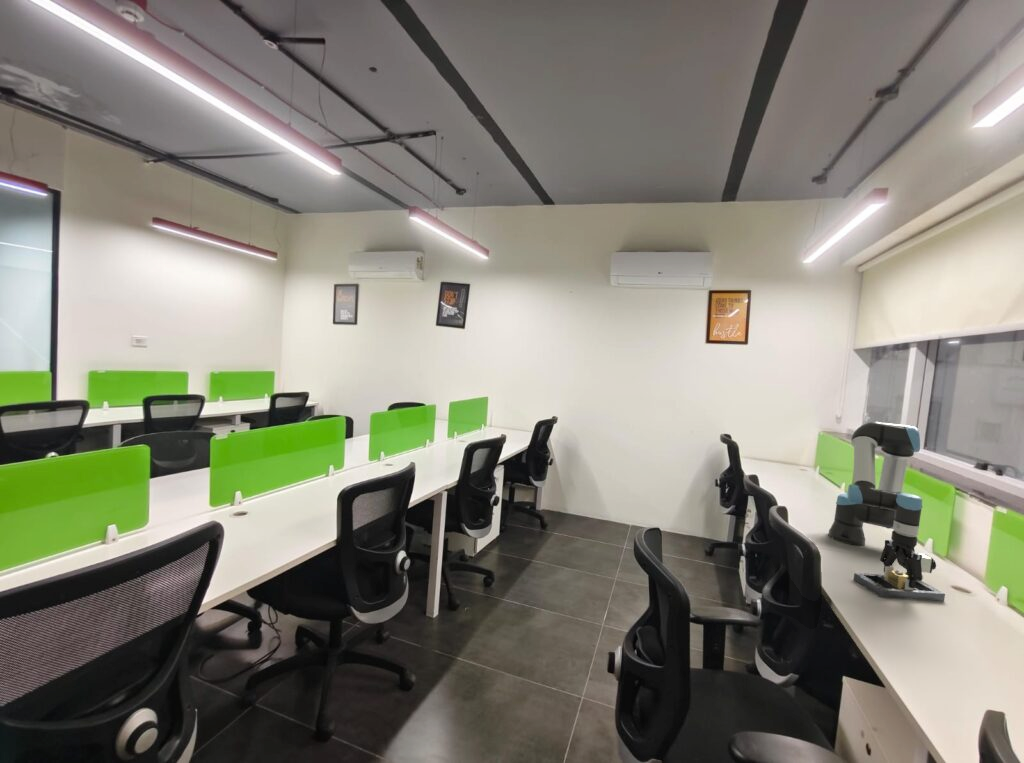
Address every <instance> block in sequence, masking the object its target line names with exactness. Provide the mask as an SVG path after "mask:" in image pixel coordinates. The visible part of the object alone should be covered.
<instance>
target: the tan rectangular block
mask: <svg viewBox="0 0 1024 763" xmlns="http://www.w3.org/2000/svg"><path fill="white" fill-rule="evenodd" d="M906 578H908V575H906V574H905V573H904V572H903V571H901V570H893V571H891V570H889V571H888V579H887V581H889V582H891V583H892V584H894V585H896V586H897V587H899V588H901V589H904V590H905V582H906Z"/></svg>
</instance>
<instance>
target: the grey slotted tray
mask: <svg viewBox="0 0 1024 763" xmlns="http://www.w3.org/2000/svg"><path fill="white" fill-rule="evenodd" d="M853 581H855V582H856V583H858V584H860V585H861V586H862V587H864V588H865V589H867V590H868V591H870V592H872V593H873V594H874V595H876V596H877V595H878V597H879V598H881V597H882V598H883V599H898V600H899V599H900V600H901V599H902V600H916V601H932V602H945V597H946V594H945V593H944V592H942V591H940V590H938V589H937V588H935V587H933V586H932V585H929V584H928V583H926V582H924V581H923V580H922V581H917V580H916V584H915V588H913V590H904V589H901V588H899V587H897V586H896V585H894V584H892V583H891V582H889V581H887V580H886V579H884V574H879V573H878V574H877V573H863V572H854V574H853Z"/></svg>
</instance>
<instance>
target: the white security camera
mask: <svg viewBox="0 0 1024 763" xmlns="http://www.w3.org/2000/svg"><path fill="white" fill-rule="evenodd" d="M915 552H916V553H917V554H921V555H922V559H921V569H922V573H925V574H926V573H928V574H932V572H933V570H936V567H937V562H936V561H935V560H934V558H932V557H931V556H929V555H928V554H926V553H919V551H915ZM908 559H909V558H908ZM896 562H897V563H898V565H899V566H901V567H902V568H904V569H905V570H906V566H905V562H904V560H903V559H902V557H901V556H900V555H899V556H898V557H897V559H896ZM904 574H906V575H908V574H907V571H905V573H904ZM912 576H913V575H912ZM922 580H924V575H923V574H922Z"/></svg>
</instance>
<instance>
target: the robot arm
mask: <svg viewBox="0 0 1024 763" xmlns="http://www.w3.org/2000/svg"><path fill="white" fill-rule="evenodd" d="M851 446H852V447H853V484H849V485H848V487H847V493H841V494H839V495H837V497H836V502H835V504H836V505H835V514H834V519H833V523H832V524H831V527H830V528H829V529H828V534H827V535H828V536H829V537H830V538H832V539H834V540H835V541H839V542H841V543H844V544H848V545H852V546H853V545H855V546H864V545H866V537H865V533H864V527H863V526H864V524H868V525H872V526H876V527H881V528H886V529H891V530H892V532H891V537H890V539H885V540H884V547H883V549H882V553H881V555H880V558H879V562H881V563H883V565H884V566H883V575H884V579H886V580H887V579H888V571H889V570H891V571H894V565H893V564H894V563H895V561H897V557H898V556H899V555H900V556H901V557H902V559H903V560H904V562H905V566H906V569H905V570H906V572H907V574H908V578H906V582H905V590H913V588H915V584H916V580H917V581H922V582H923V579H922V575H923V574H922V573H923V572H922V569H921V559H922V555H921V554H922V553H921V554H917V553H916V552H917V551H915V547H916V546H918V537H917V536H918V535H919V529H920V521H921V515H922V509H923V499H922V498H921V496H918V495H916V494H912V493H908V492H907V493H906V492H904V491H903V486H904V482H905V476H906V472H907V467H908V462H909V458H911V457H913V456H914V455H915V453H919V452H920V449H921V435H920V430H919V429H918V428H917V427H916V426H911V425H907V424H899V423H889V422H879V421H871V422H866V423H864V424H862V425H861V426H859V427H858V428H857V429H855V431H854V432H853V434H852V435H851ZM878 447H879V448H880V450H881V452H882V453H884V456H883V461H882V466H881V467H882V468H881V471H880V476H879V482H878V488H876V457H875V456H876V454H875V453H876V449H877V448H878ZM908 558H909V559H908ZM912 575H913V576H912Z"/></svg>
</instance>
